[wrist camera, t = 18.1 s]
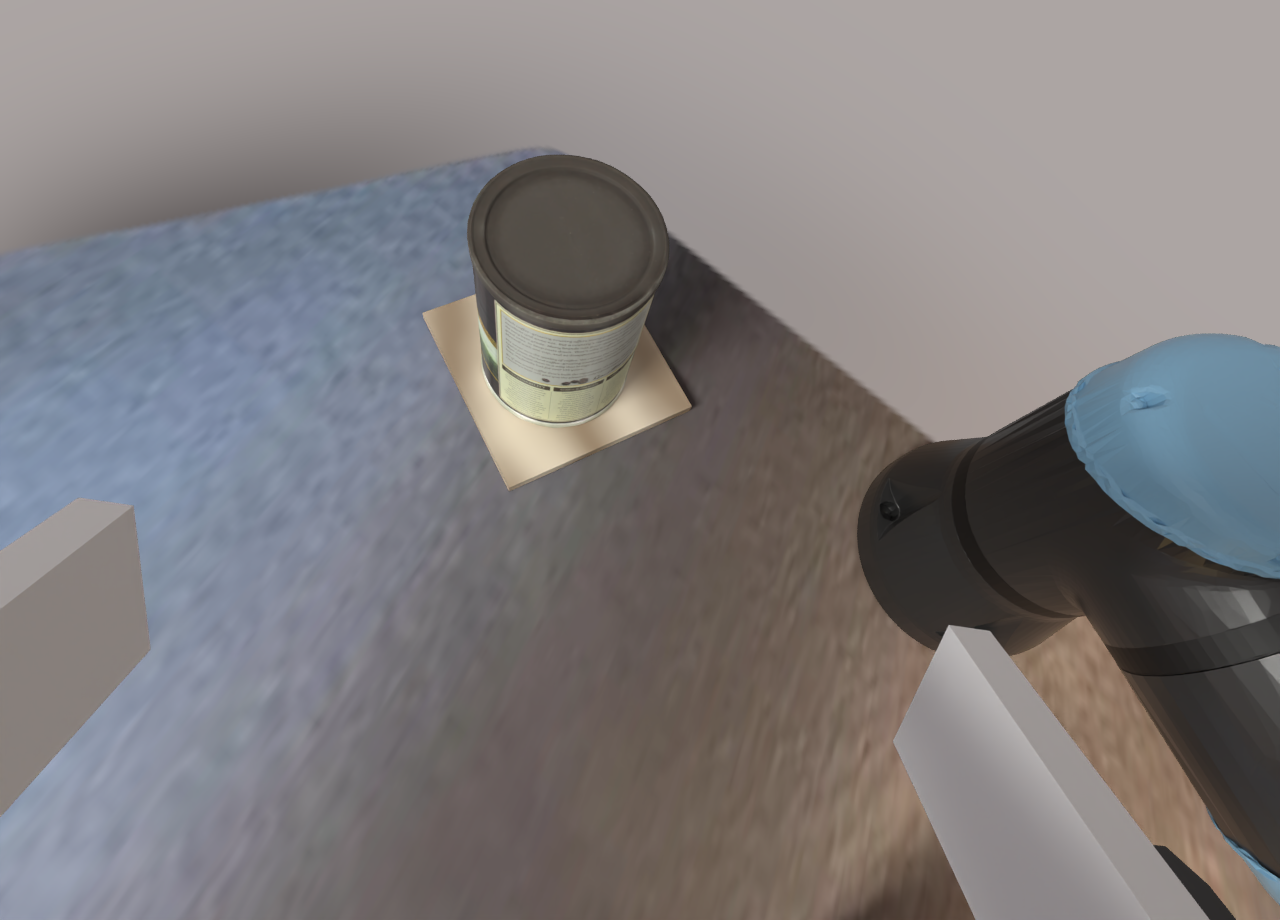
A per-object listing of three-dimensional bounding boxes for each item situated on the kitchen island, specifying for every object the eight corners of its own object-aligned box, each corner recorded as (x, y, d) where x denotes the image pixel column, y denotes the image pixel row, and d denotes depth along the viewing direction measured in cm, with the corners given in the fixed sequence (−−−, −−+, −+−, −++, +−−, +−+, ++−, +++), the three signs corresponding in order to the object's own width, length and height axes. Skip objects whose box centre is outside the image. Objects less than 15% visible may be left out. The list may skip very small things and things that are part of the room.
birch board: (600, 256, 53) (601, 250, 52) (689, 410, 50) (691, 406, 49) (424, 318, 49) (422, 312, 48) (509, 491, 46) (509, 487, 45)
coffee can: (448, 351, 47) (423, 216, 34) (561, 272, 51) (577, 122, 38) (549, 460, 46) (562, 362, 33) (658, 371, 50) (710, 251, 36)
